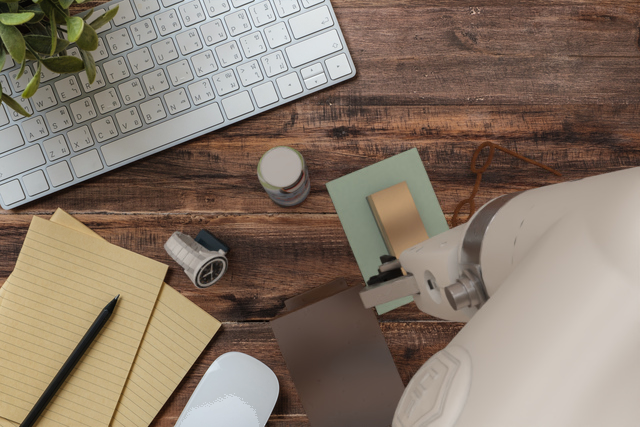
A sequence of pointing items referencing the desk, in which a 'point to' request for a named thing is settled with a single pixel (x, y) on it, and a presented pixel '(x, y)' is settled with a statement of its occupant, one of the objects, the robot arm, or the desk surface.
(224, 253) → the watch
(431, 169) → the desk surface
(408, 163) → the mat
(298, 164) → the beverage can
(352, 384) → the pedestal
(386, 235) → the tan wooden block
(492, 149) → the glasses
